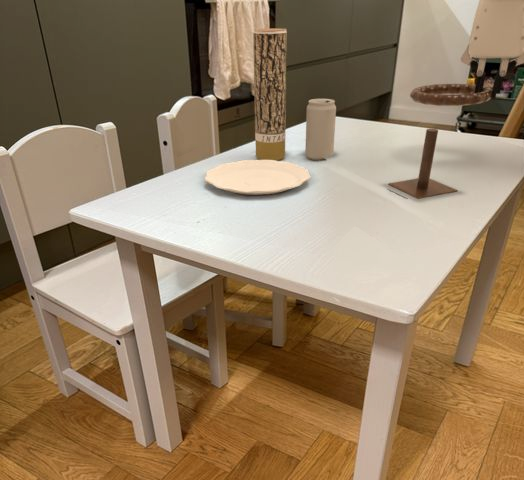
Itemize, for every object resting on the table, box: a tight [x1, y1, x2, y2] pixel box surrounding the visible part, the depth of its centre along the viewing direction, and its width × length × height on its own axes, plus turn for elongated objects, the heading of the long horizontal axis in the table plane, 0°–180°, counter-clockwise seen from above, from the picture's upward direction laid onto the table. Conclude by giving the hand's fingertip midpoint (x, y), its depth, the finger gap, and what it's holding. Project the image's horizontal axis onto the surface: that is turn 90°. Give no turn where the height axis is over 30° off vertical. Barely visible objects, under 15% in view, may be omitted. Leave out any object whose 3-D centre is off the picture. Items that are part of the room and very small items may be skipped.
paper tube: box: [252, 28, 288, 161], centre depth 108 cm, size 7×7×25 cm
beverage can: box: [304, 98, 337, 162], centre depth 111 cm, size 6×6×12 cm
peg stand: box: [387, 128, 459, 200], centre depth 91 cm, size 9×9×11 cm
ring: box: [409, 83, 492, 107], centre depth 104 cm, size 16×16×2 cm
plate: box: [204, 159, 311, 196], centre depth 100 cm, size 21×21×2 cm
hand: (486, 96), depth 102 cm, fingers closed on ring, 2 cm apart
